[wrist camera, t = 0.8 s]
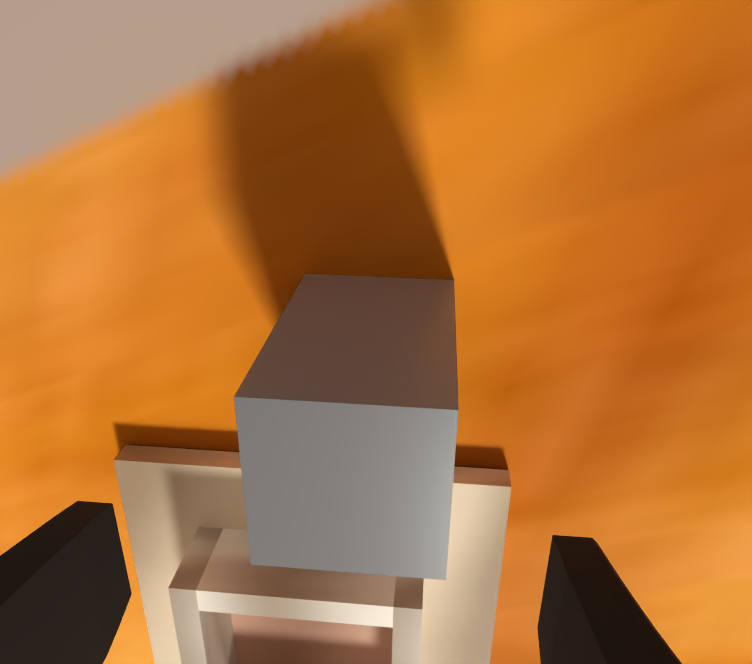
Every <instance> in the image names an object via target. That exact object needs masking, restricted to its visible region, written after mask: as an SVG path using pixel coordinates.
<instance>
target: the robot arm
mask: <svg viewBox="0 0 752 664" xmlns="http://www.w3.org/2000/svg"><path fill="white" fill-rule="evenodd" d="M130 597H131V589H130V584H129V579H128V575H127V570H126V565H125V560H124V556H123V551H122V546H121V541H120V537H119V532H118V527H117V522H116V518H115V513H114V508H113V504H112V503H98V502H84V501H77V502H75V503H74V504H72V505H71V506H69V507H68V508H66V509H65V510H63V511H62V512H61V513H59V514H58V515H56V516H55V517H53V518H52V519H51V520H49V521H48V522H46V523H45V524H44V525H42V526H41V527H39V528H38V529H37V530H35V531H34V532H33V533H31V534H30V535H28V536H27V537H26V538H24V539H23V540H21V541H20V542H19V543H17V544H16V545H15V546H13V547H12V548H10V549H9V550H8V551H6V552H5V553H4V554H2V555H1V556H0V664H103V662H104V660H105V658H106V656H107V654H108V652H109V649H110V647H111V645H112V642H113V640H114V637H115V635H116V633H117V630H118V628H119V625H120V623H121V620H122V617H123V615H124V612H125V610H126V607H127V604H128V602H129V599H130ZM538 637H539V648H540V659H541V664H682V663H681V662H680V661H679V659H678V658H677V657H676V655H675V654H674V653H673V651H672V650H671V649H670V647H669V646H668V645H667V643H666V642H665V641H664V639H663V638H662V637H661V635H660V634H659V633H658V631H657V630H656V629H655V627H654V626H653V625H652V623H651V622H650V620H649V619H648V618H647V616H646V615H645V613H644V612H643V610H642V609H641V608H640V606H639V605H638V603H637V602H636V600H635V599H634V598H633V596H632V595H631V593H630V592H629V590H628V589H627V587H626V586H625V584H624V583H623V581H622V580H621V578H620V577H619V575H618V574H617V572H616V571H615V569H614V568H613V566H612V565H611V563H610V562H609V560H608V559H607V557H606V556H605V554H604V553H603V551H602V549H601V548H600V546H599V545H598V544H597V542H596V541H595V540H594V539H593V538H586V537H572V536H558V535H553V536H552V542H551V549H550V555H549V561H548V567H547V573H546V579H545V585H544V591H543V598H542V604H541V610H540V616H539V622H538Z"/></svg>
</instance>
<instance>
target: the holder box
mask: <svg viewBox="0 0 752 664" xmlns="http://www.w3.org/2000/svg"><path fill="white" fill-rule="evenodd" d="M114 464H115V469H116V474H117V479H118V484H119V489H120V493H121V498H122V503H123V508H124V513H125V518H126V523H127V528H128V533H129V538H130V543H131V548H132V553H133V558H134V563H135V568H136V573H137V578H138V583H139V588H140V592H141V597H142V602H143V607H144V612H145V617H146V622H147V627H148V632H149V637H150V642H151V647H152V652H153V657H154V662H155V664H490V657H491V648H492V640H493V632H494V624H495V616H496V608H497V599H498V591H499V583H500V575H501V567H502V558H503V550H504V542H505V534H506V526H507V517H508V509H509V501H510V493H511V482H510V475H509V470H501V469H486V468H471V467H456V466H454V478H453V491H452V505H451V518H450V532H449V545H448V559H447V573H446V580H436V579H424V578H412V577H399V576H387V575H375V574H362V573H350V572H338V571H325V570H313V569H301V568H288V567H276V566H263V565H251V563H250V553H249V543H248V533H247V523H246V513H245V503H244V493H243V482H242V472H241V462H240V452H228V451H212V450H197V449H182V448H167V447H152V446H136V445H125V446H124V447H123V449H122V450H121V451H120V453H119V454H118V455H117V456H116V458H115V459H114Z"/></svg>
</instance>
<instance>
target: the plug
mask: <svg viewBox="0 0 752 664" xmlns="http://www.w3.org/2000/svg"><path fill="white" fill-rule="evenodd" d="M234 402H235V412H236V422H237V432H238V442H239V452H240V462H241V472H242V482H243V493H244V503H245V513H246V523H247V533H248V543H249V553H250V563H251V565H263V566H276V567H288V568H301V569H313V570H325V571H338V572H350V573H362V574H375V575H387V576H399V577H412V578H424V579H436V580H446V573H447V559H448V545H449V532H450V518H451V505H452V491H453V478H454V464H455V451H456V437H457V423H458V382H457V353H456V325H455V296H454V280H451V279H427V278H402V277H378V276H354V275H330V274H306V273H305V274H304V276H303V278H302V280H301V281H300V283H299V285H298V287H297V288H296V290H295V292H294V294H293V295H292V297H291V299H290V300H289V302H288V304H287V306H286V307H285V309H284V311H283V313H282V314H281V316H280V318H279V320H278V321H277V323H276V325H275V327H274V328H273V330H272V332H271V333H270V335H269V337H268V339H267V340H266V342H265V344H264V346H263V347H262V349H261V351H260V353H259V354H258V356H257V358H256V360H255V361H254V363H253V365H252V367H251V368H250V370H249V372H248V373H247V375H246V377H245V379H244V380H243V382H242V384H241V386H240V387H239V389H238V391H237V393H236V394H235V396H234Z"/></svg>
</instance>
